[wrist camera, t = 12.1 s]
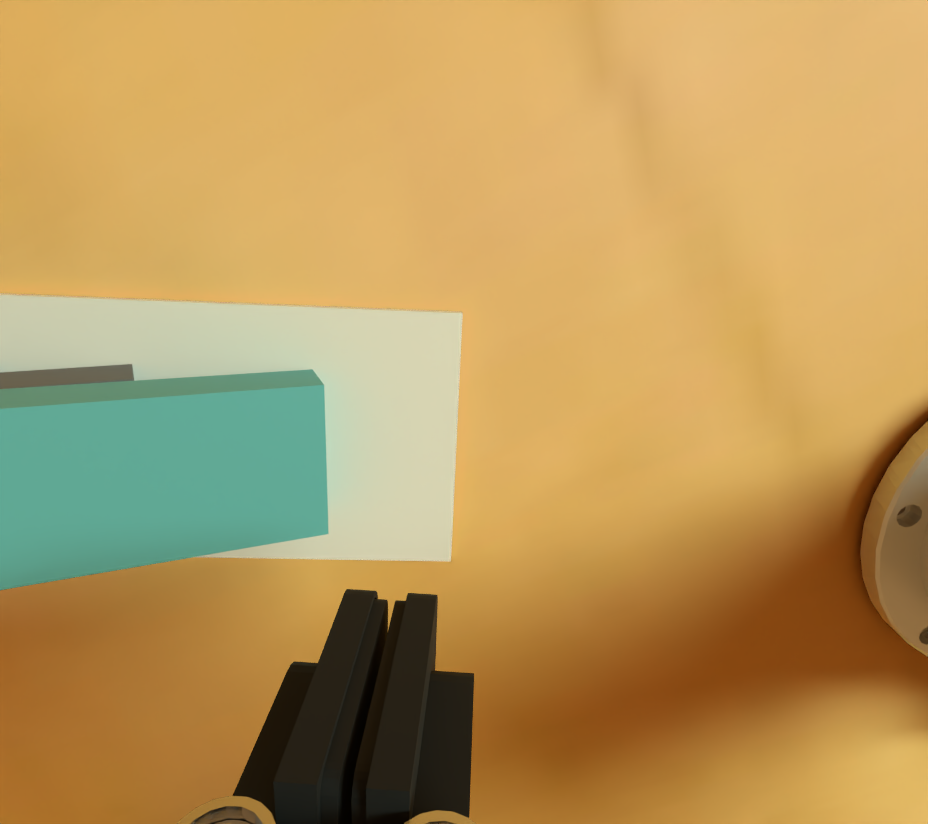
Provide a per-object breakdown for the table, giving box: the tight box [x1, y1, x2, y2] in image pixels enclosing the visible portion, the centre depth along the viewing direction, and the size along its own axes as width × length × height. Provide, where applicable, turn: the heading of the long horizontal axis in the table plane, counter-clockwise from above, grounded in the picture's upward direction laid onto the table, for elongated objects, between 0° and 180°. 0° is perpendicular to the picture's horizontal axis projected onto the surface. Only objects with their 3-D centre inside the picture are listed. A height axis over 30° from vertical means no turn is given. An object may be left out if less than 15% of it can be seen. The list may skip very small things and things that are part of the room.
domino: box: [0, 369, 329, 590], centre depth 18 cm, size 2×5×9 cm
